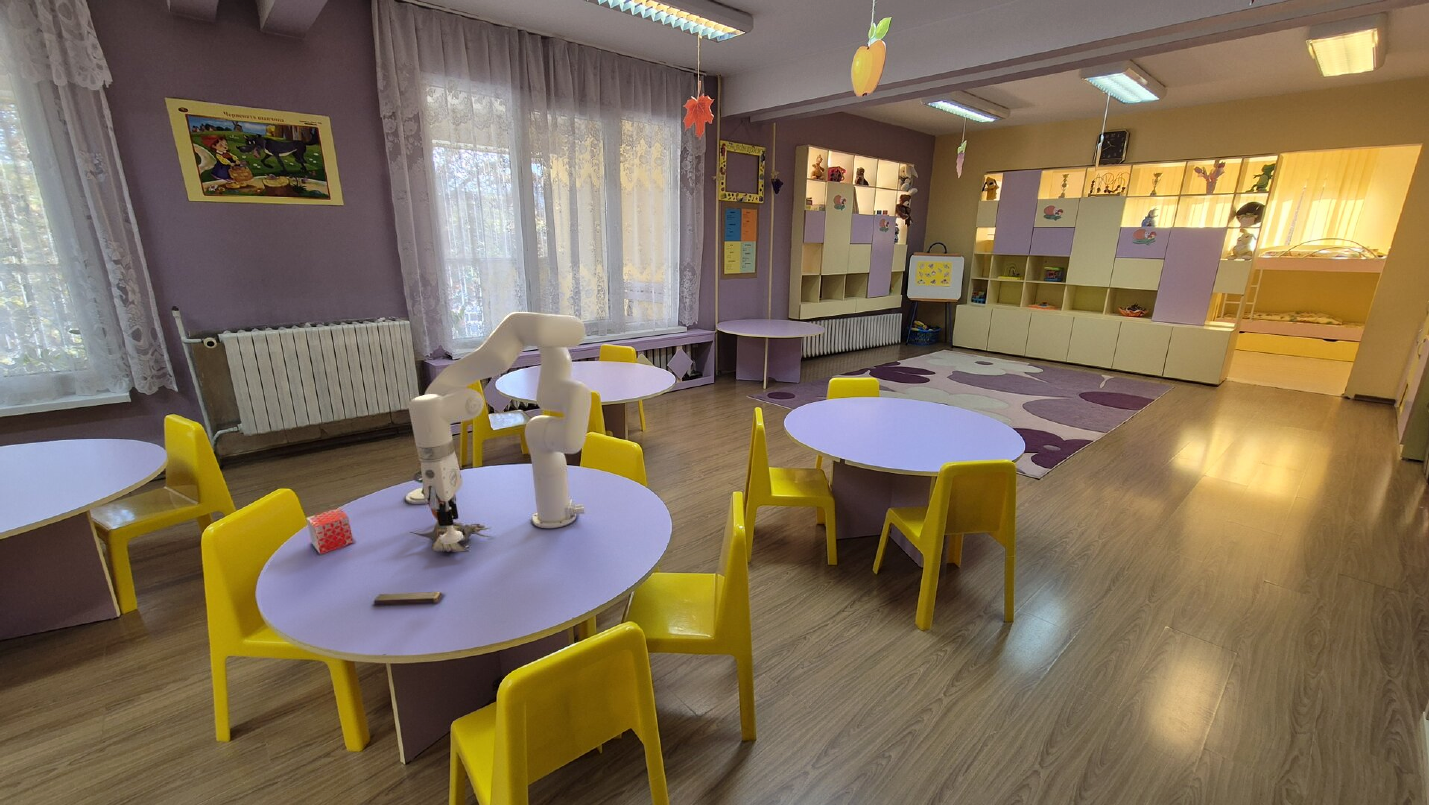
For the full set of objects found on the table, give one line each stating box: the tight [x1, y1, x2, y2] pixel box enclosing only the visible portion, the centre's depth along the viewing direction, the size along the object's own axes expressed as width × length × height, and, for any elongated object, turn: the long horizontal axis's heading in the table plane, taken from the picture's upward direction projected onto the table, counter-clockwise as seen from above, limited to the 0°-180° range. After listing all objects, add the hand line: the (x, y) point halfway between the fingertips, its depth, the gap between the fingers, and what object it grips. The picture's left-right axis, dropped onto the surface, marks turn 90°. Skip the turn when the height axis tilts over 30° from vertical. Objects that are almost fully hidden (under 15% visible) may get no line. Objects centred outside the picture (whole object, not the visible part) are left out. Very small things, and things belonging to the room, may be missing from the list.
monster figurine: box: [405, 470, 429, 505], centre depth 183 cm, size 12×12×10 cm
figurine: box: [409, 520, 492, 554], centre depth 153 cm, size 20×6×17 cm
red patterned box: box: [306, 507, 355, 555], centre depth 155 cm, size 8×8×8 cm
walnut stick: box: [373, 590, 443, 606], centre depth 130 cm, size 14×3×1 cm, turn 93°
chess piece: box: [441, 502, 464, 544], centre depth 134 cm, size 5×5×10 cm
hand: (448, 521), depth 134 cm, fingers closed on chess piece
